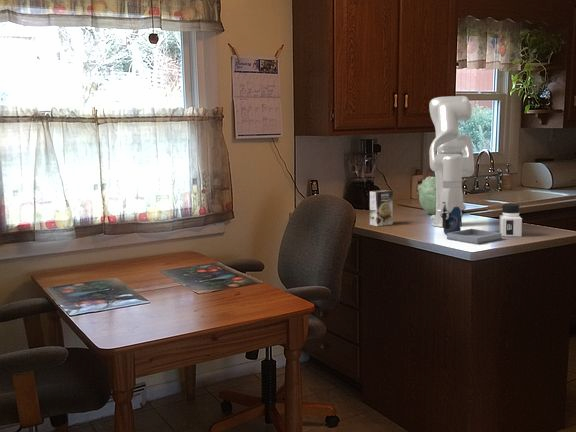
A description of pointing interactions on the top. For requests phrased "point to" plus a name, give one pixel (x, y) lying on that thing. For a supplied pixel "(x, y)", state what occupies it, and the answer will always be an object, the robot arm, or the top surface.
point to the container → (510, 220)
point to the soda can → (454, 221)
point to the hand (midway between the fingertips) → (452, 226)
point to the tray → (474, 236)
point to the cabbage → (428, 195)
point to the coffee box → (381, 208)
